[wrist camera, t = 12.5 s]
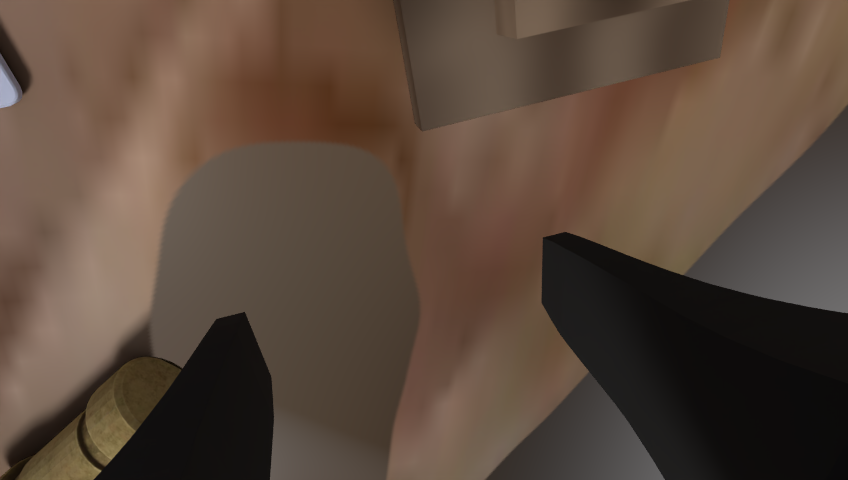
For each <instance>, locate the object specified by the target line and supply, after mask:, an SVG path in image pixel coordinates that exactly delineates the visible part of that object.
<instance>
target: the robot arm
mask: <svg viewBox="0 0 848 480" xmlns="http://www.w3.org/2000/svg"><path fill="white" fill-rule="evenodd" d="M21 98H22V90H21V87H20V85H19V83H18V82H17V80H16V78H15V77H14V75H13V73H12V72H11V70H10V68H9V67H8V65H7V64H6V62H5V60H4V59H3V57H2V55H1V54H0V108H3V107H8V106H10V105H13V104H15V103H17V102H19V101H20V99H21ZM542 304H543V306H544V308H545V309H546V311H547V313H548V315H549V317H550V318H551V320H552V322H553V323H554V325H555V327H556V328H557V330H558V332H559V333H560V335H561V336H562V337H563V339H564V340H565V341H566V343H567V344H568V345H569V347H570V348H571V349H572V350H573V352H574V353H575V354H576V355H577V357H578V358H579V359H580V361H581V362H582V363H583V364H584V366H585V367H586V368H587V369H588V371H589V372H590V373H591V374H592V376H593V377H594V378H595V379H596V380H597V382H598V383H599V384H600V385H601V387H602V388H603V389H604V390H605V392H606V393H607V394H608V395H609V397H610V398H611V399H612V400H613V402H614V403H615V404H616V405H617V407H618V408H619V410H620V411H621V412H622V414H623V415H624V416H625V418H626V419H627V421H628V422H629V423H630V425H631V427H632V428H633V430H634V431H635V432H636V434H637V436H638V437H639V439H640V440H641V442H642V444H643V445H644V446H645V448H646V450H647V451H648V453H649V454H650V456H651V457H652V459H653V461H654V462H655V464H656V466H657V467H658V469H659V471H660V472H661V474H662V475H663V477H664V479H665V480H848V313H841V312H835V311H829V310H823V309H817V308H811V307H806V306H801V305H796V304H791V303H786V302H781V301H776V300H771V299H767V298H762V297H758V296H754V295H750V294H746V293H742V292H738V291H734V290H731V289H727V288H723V287H719V286H716V285H712V284H708V283H705V282H702V281H699V280H696V279H693V278H689V277H686V276H684V275H680V274H677V273H674V272H671V271H668V270H666V269H663V268H660V267H657V266H655V265H652V264H649V263H646V262H644V261H641V260H638V259H636V258H633V257H631V256H628V255H626V254H623V253H620V252H618V251H615V250H613V249H610V248H608V247H605V246H603V245H600V244H598V243H595V242H593V241H590V240H587V239H585V238H582V237H579V236H576V235H574V234H570V233H567V232H564V233H559V234H555V235H551V236H547V237H543V259H542ZM273 424H274V412H273V394H272V381H271V375H270V373H269V370H268V368H267V365H266V363H265V361H264V358H263V356H262V353H261V351H260V348H259V346H258V343H257V341H256V338H255V336H254V333H253V331H252V328H251V326H250V324H249V321H248V319H247V316H246V314H245V312H243V313H239V314H235V315H231V316H227V317H223V318H219V319H216V321H215V322H214V324H213V325H212V326H211V328H210V329H209V331H208V332H207V333H206V335H205V336H204V338H203V339H202V341H201V342H200V344H199V345H198V347H197V348H196V350H195V351H194V353H193V354H192V356H191V357H190V359H189V360H188V362H187V363H186V364H185V366H184V368H183V369H182V370H181V372H180V373H179V374H178V376H177V377H176V379H175V380H174V382H173V383H172V384H171V386H170V387H169V389H168V390H167V391H166V393H165V394H164V396H163V397H162V398H161V399H160V401H159V402H158V403H157V405H156V406H155V407H154V408H153V410H152V411H151V412H150V414H149V415H148V416H147V417H146V419H145V420H144V421H143V423H142V424H141V425H140V427H139V428H138V429H137V430H136V432H135V433H134V434H133V435H132V437H131V438H130V439H129V440H128V441H127V443H126V444H125V445H124V446H123V447H122V448H121V450H120V451H119V452H118V453H117V454H116V455H115V457H114V458H113V459H112V460H111V461H110V462H109V463H108V464H107V465H106V467H105V468H104V469H103V470H102V471H101V472H100V473H99V474H98V475H97V476H96V478H95V479H94V480H270V469H271V454H272V439H273Z"/></svg>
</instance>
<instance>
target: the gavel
mask: <svg viewBox="0 0 848 480" xmlns="http://www.w3.org/2000/svg"><path fill="white" fill-rule="evenodd" d="M182 369H183V368H181V367H180V366H178V365H176V364H175V363H173V362H171V361H168V360H165V359H162V358H158V357H154V358H153V357H139V358H136V359H133V360H131V361H129V362H127V363H126V364H125V365H123V366H122V367H121V368H120V369H119V370H118V371H117V372H115V373H114V374H113V375H112V376H111V377H110V378H109V379H108V380H107V381H106V382H105V383H103V384H102V385H101V386H100V387H99V388H98V389H97V390H96V391H95V392H94V393H93V395H92V396H91V398H90V400H89V402H88V404H87V408H86V409H85V410H84V411H83V412H82V413H81V414H80V415H79V416H78V417H77V418H75V419H74V420H73V421H72V422H71V423H70V424H69V425H68V426H67V427H66V428H64V429H63V430H62V431H61V432H60V433H59V434H58V435H57V436H56V437H54V438H53V439H52V440H51V441H50V442H49V443H48V444H47V445H46V446H45V447H43V448H42V449H41V450H40V451H39V452H38V453H37V454H36V455H34V456H31V457H28V458H26V459H24V460H22V461H20V462H18V463H17V464H15V465H14V466H13V467H11V468H10V469H9V470H8V471H7V472H6V473H5V474H3V475H2V476H1V477H0V480H94V479H95V478H96V476H97V475H98V474H99V473H100V472H101V471H102V470H103V469H104V468H105V467H106V465H107V464H108V463H109V462H110V461H111V460H112V459H113V458H114V457H115V455H116V454H117V453H118V452H119V451H120V450H121V448H122V447H123V446H124V445H125V444H126V443H127V441H128V440H129V439H130V438H131V437H132V435H133V434H134V433H135V432H136V430H137V429H138V428H139V427H140V425H141V424H142V423H143V421H144V420H145V419H146V417H147V416H148V415H149V414H150V412H151V411H152V410H153V408H154V407H155V406H156V405H157V403H158V402H159V401H160V399H161V398H162V397H163V396H164V394H165V393H166V391H167V390H168V389H169V387H170V386H171V384H172V383H173V382H174V380H175V379H176V377H177V376H178V374H179V373H180V372H181V370H182Z"/></svg>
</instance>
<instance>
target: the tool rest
mask: <svg viewBox="0 0 848 480" xmlns="http://www.w3.org/2000/svg"><path fill="white" fill-rule="evenodd" d="M393 1H394V7H395V12H396V18H397V24H398V29H399V35H400V41H401V46H402V52H403V58H404V64H405V69H406V75H407V81H408V86H409V92H410V98H411V103H412V109H413V115H414V120H415V124H416V125H417V126H418V127H419V128H420V130H421V131H426V130H430V129H434V128H438V127H442V126H446V125H450V124H454V123H458V122H462V121H466V120H470V119H474V118H478V117H482V116H486V115H490V114H494V113H498V112H502V111H506V110H511V109H515V108H519V107H523V106H527V105H531V104H535V103H539V102H543V101H547V100H551V99H555V98H559V97H563V96H567V95H571V94H575V93H579V92H583V91H587V90H591V89H595V88H599V87H603V86H607V85H611V84H615V83H619V82H623V81H627V80H631V79H635V78H639V77H644V76H648V75H652V74H656V73H660V72H664V71H668V70H672V69H676V68H680V67H684V66H688V65H692V64H696V63H700V62H704V61H708V60H712V59H716V58H720V54H721V48H722V42H723V36H724V29H725V23H726V17H727V11H728V5H729V0H393Z"/></svg>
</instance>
